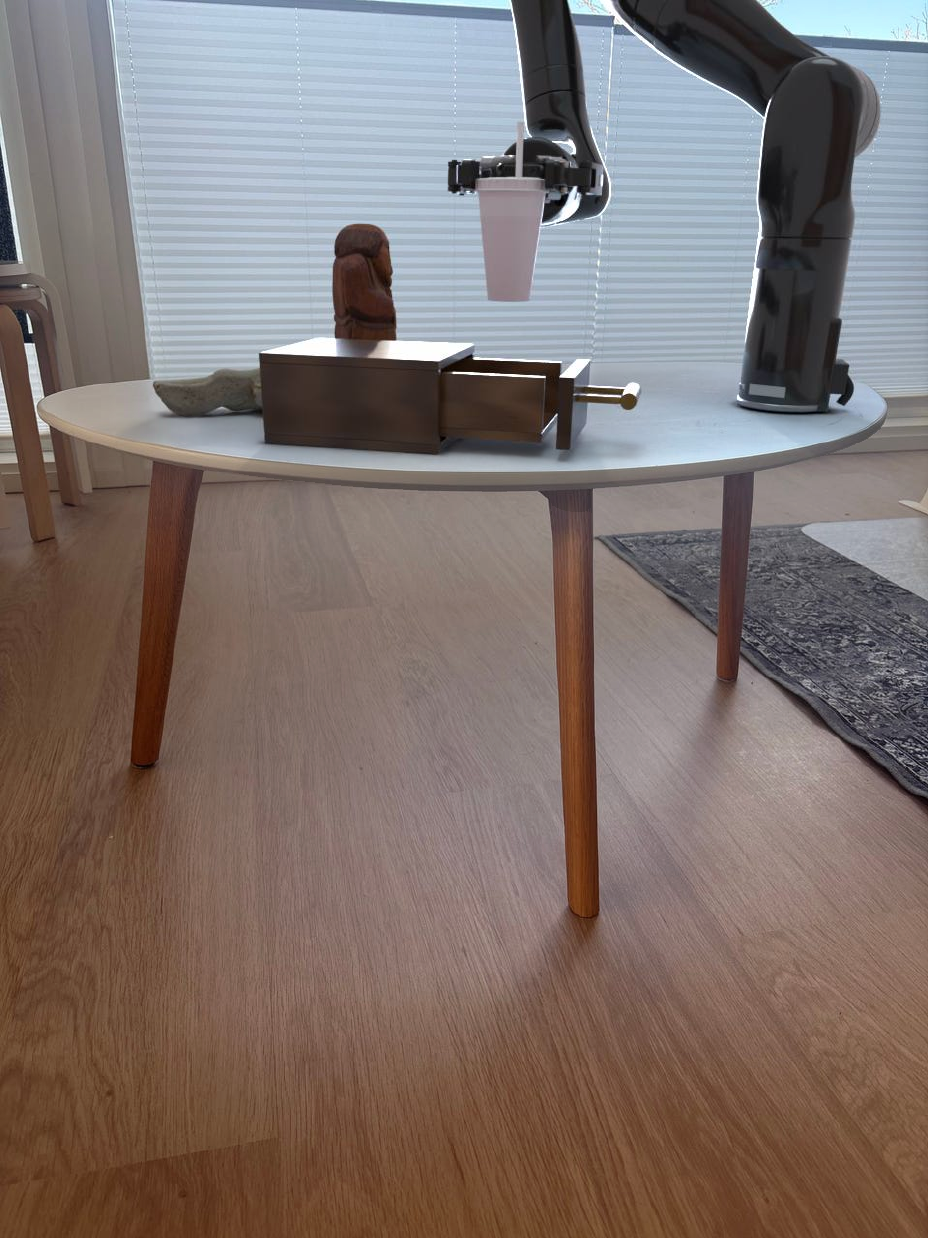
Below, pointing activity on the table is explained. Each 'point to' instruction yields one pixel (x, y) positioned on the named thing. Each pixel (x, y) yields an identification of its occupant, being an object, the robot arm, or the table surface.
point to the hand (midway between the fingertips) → (507, 173)
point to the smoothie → (510, 229)
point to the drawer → (521, 400)
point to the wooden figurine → (363, 285)
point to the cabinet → (357, 393)
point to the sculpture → (212, 392)
